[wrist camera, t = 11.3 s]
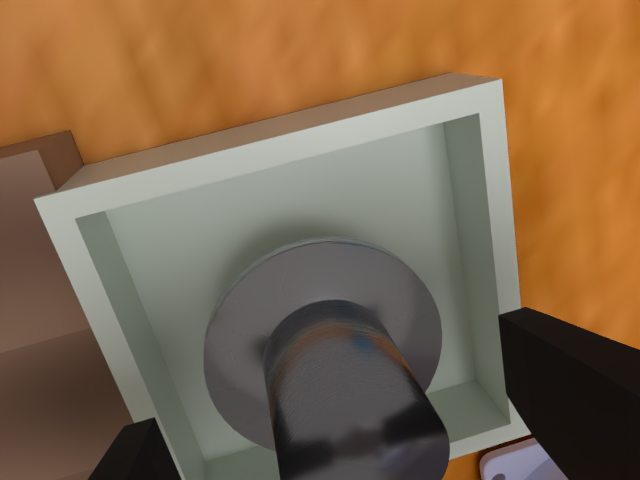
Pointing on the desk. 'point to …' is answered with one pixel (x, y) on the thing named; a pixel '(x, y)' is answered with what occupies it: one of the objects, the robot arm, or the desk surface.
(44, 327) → the socket block
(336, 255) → the pin
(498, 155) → the tray
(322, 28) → the desk surface
